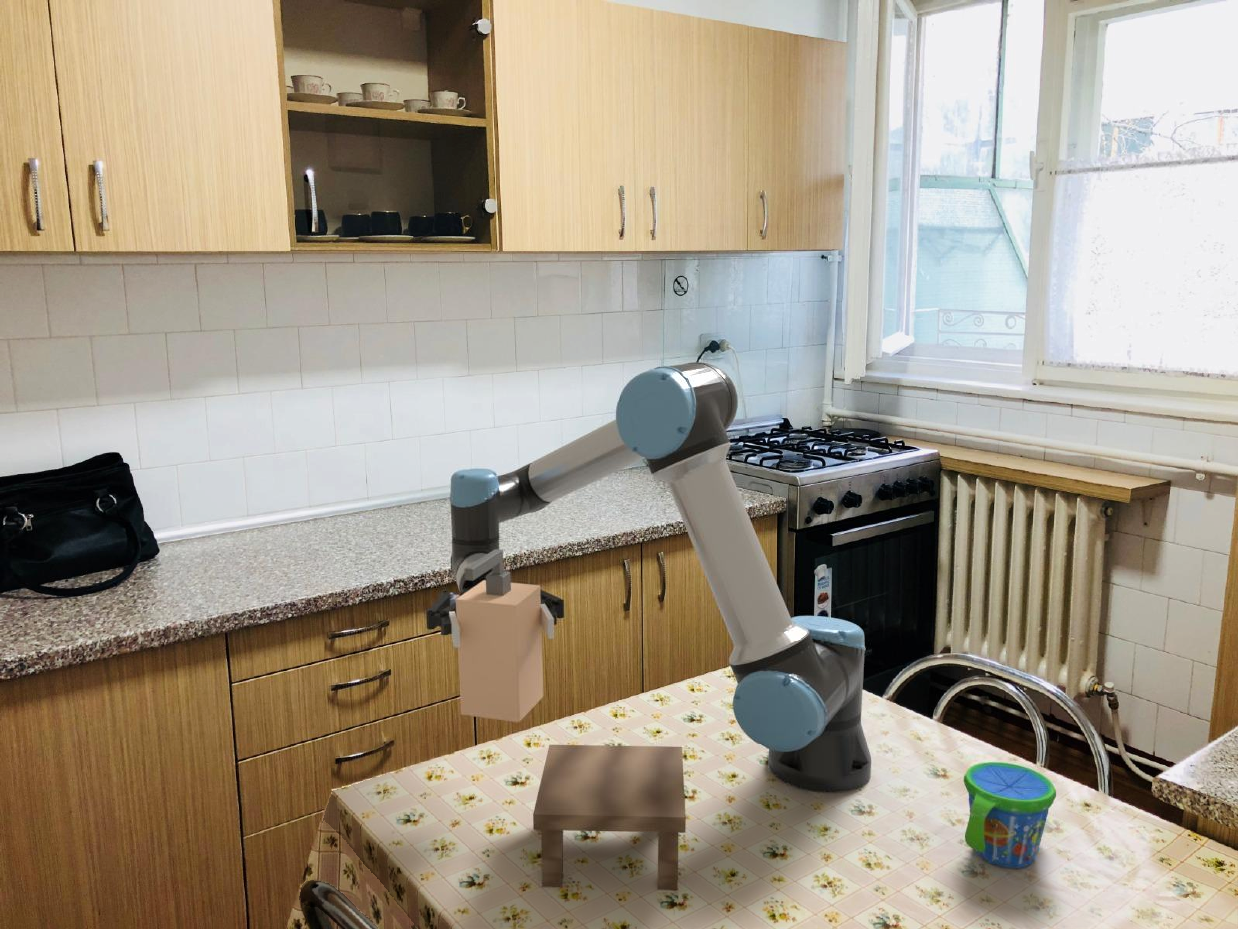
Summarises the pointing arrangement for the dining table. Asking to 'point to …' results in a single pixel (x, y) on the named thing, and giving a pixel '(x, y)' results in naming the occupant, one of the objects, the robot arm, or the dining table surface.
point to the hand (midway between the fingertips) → (504, 633)
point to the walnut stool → (611, 800)
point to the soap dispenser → (499, 643)
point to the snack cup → (1007, 812)
